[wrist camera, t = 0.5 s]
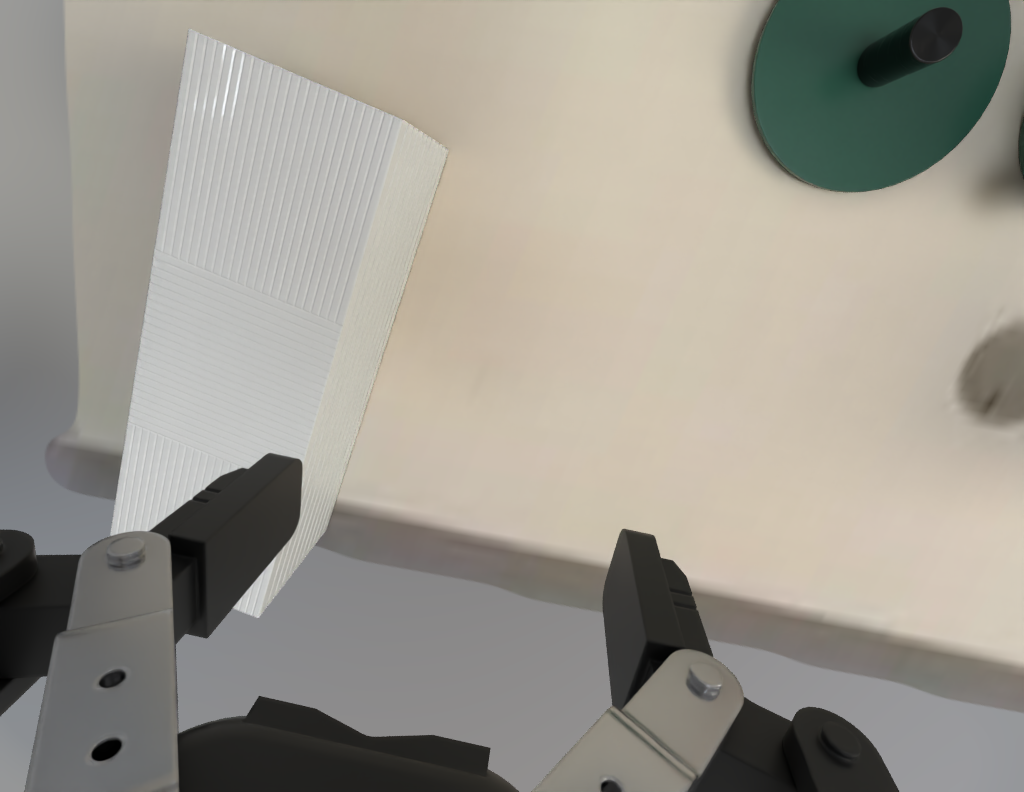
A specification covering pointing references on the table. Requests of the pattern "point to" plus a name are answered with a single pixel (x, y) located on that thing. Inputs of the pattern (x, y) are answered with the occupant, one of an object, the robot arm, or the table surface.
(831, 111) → the lid
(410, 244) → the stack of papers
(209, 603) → the robot arm
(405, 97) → the table surface
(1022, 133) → the pot
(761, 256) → the table surface
